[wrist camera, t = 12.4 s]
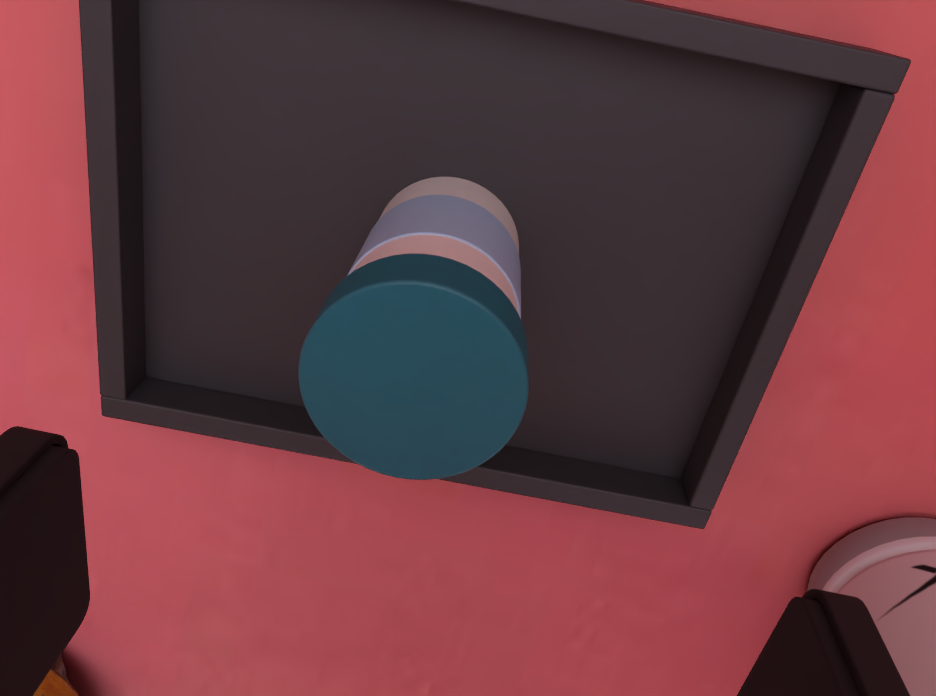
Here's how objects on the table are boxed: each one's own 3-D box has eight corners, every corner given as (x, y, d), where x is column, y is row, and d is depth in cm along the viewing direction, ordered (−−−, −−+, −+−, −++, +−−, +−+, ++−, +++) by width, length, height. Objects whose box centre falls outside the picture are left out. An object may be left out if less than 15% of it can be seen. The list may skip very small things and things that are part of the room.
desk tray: (116, -112, 19) (71, -120, 17) (875, 49, 19) (913, 60, 18) (131, 382, 26) (100, 416, 24) (691, 489, 26) (704, 530, 24)
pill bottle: (379, 153, 21) (307, 258, 14) (542, 187, 21) (553, 307, 14) (359, 302, 23) (289, 458, 16) (507, 331, 23) (502, 499, 16)
